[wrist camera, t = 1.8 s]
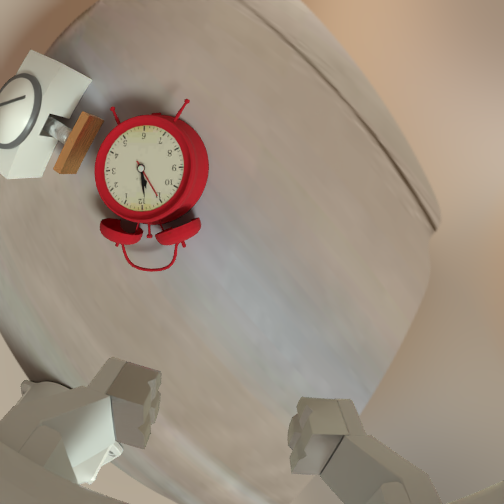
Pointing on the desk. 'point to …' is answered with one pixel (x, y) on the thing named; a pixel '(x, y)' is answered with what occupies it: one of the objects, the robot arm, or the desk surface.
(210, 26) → the desk surface
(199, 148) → the alarm clock
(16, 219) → the desk surface
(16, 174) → the dial gauge
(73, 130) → the wooden handled metal scraper
